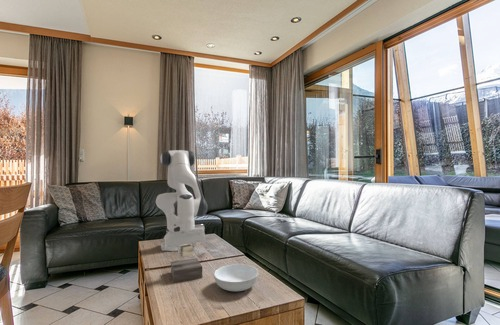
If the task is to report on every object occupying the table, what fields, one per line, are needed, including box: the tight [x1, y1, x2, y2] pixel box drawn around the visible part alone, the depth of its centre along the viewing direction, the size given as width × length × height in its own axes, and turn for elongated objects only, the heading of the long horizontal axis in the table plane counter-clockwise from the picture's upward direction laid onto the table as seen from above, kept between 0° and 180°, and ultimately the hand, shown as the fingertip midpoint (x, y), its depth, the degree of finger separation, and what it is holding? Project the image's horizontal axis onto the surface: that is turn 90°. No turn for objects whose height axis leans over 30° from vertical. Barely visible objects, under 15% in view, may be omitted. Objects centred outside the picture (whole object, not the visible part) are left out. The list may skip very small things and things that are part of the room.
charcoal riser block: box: [170, 257, 203, 283], centre depth 140 cm, size 14×14×6 cm
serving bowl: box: [213, 263, 259, 292], centre depth 126 cm, size 21×21×7 cm
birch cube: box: [179, 243, 194, 259], centre depth 140 cm, size 5×5×5 cm
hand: (186, 252), depth 140 cm, fingers closed on birch cube, 5 cm apart
